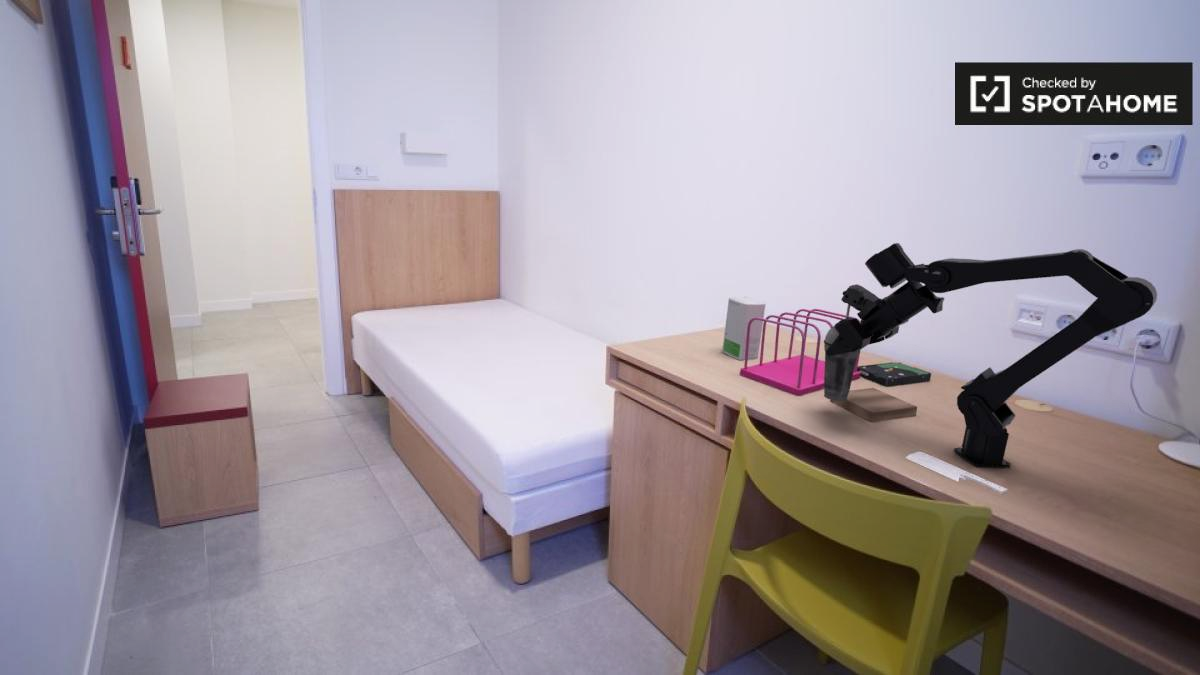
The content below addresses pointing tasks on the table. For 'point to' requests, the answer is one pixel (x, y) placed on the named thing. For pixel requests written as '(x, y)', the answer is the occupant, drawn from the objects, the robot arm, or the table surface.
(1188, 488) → the table surface
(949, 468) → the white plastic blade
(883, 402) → the walnut plinth
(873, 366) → the disk drive
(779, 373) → the file sorter
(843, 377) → the beverage cup
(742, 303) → the skincare box
